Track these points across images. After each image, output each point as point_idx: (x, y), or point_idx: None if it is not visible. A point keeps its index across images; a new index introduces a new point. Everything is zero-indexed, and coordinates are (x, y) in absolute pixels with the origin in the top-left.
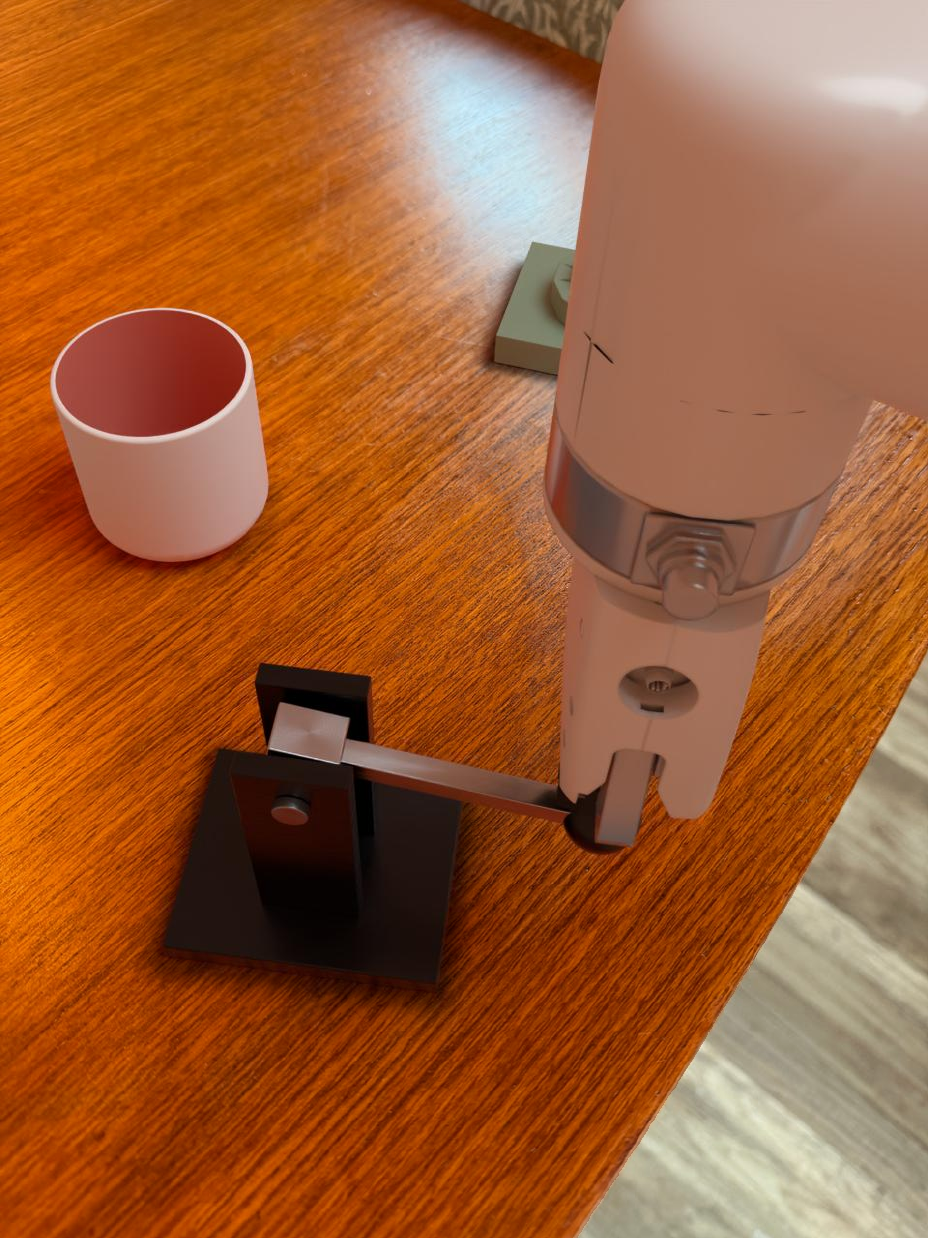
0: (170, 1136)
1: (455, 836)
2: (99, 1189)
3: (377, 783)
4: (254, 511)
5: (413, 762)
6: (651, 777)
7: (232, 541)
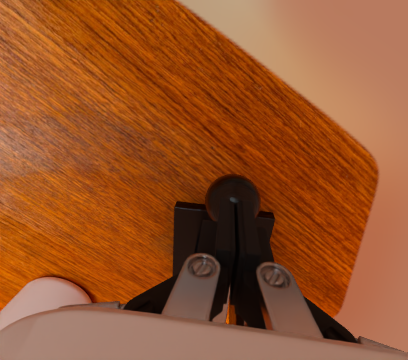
0: (317, 288)
1: (204, 211)
2: (331, 303)
3: (181, 240)
4: (58, 287)
5: (216, 317)
6: (297, 286)
7: (75, 288)
